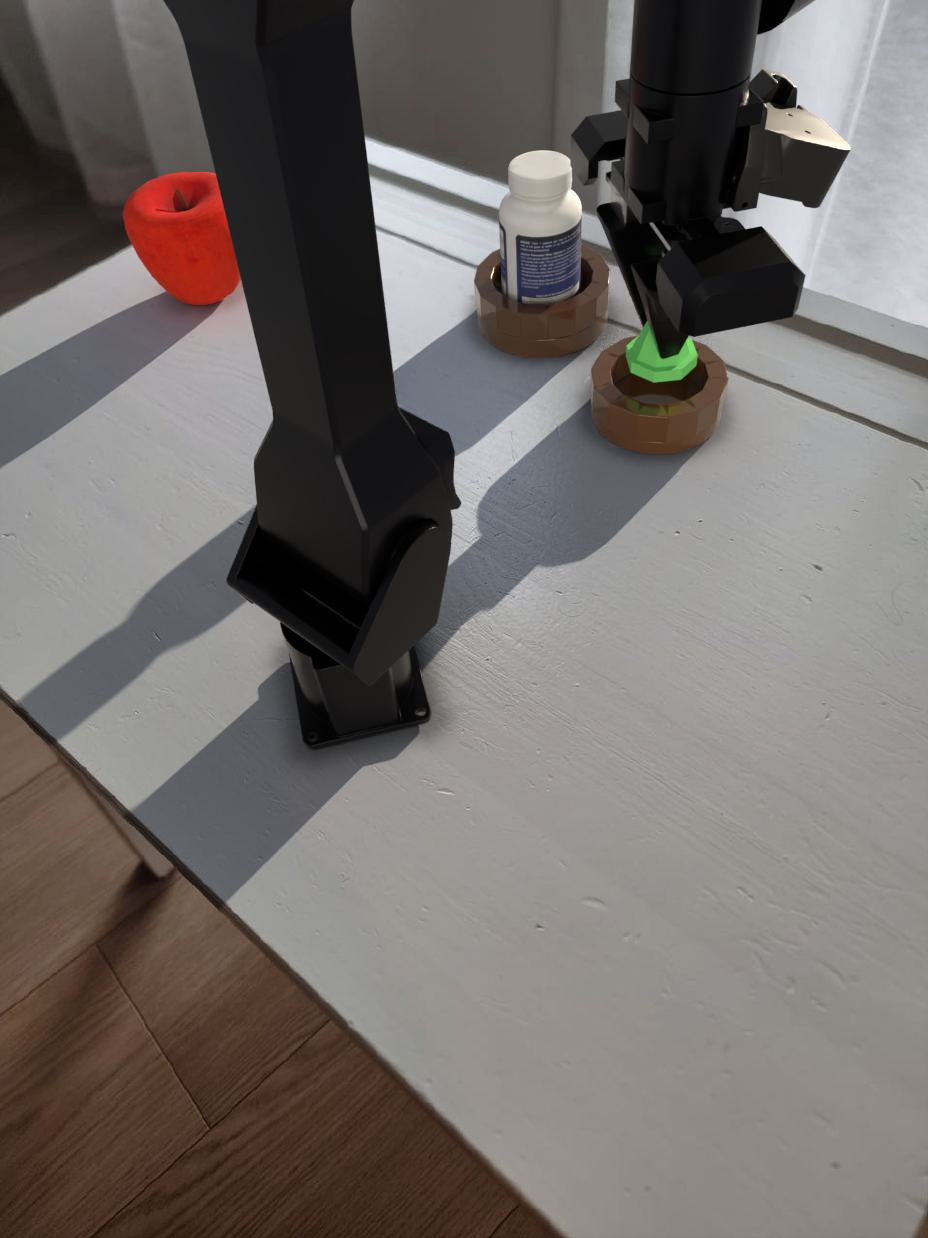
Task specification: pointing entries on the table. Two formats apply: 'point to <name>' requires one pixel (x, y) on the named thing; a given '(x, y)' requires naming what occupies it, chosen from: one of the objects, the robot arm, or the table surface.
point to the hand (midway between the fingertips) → (661, 344)
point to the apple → (184, 236)
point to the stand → (543, 312)
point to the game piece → (658, 359)
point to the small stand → (657, 402)
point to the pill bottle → (540, 230)
